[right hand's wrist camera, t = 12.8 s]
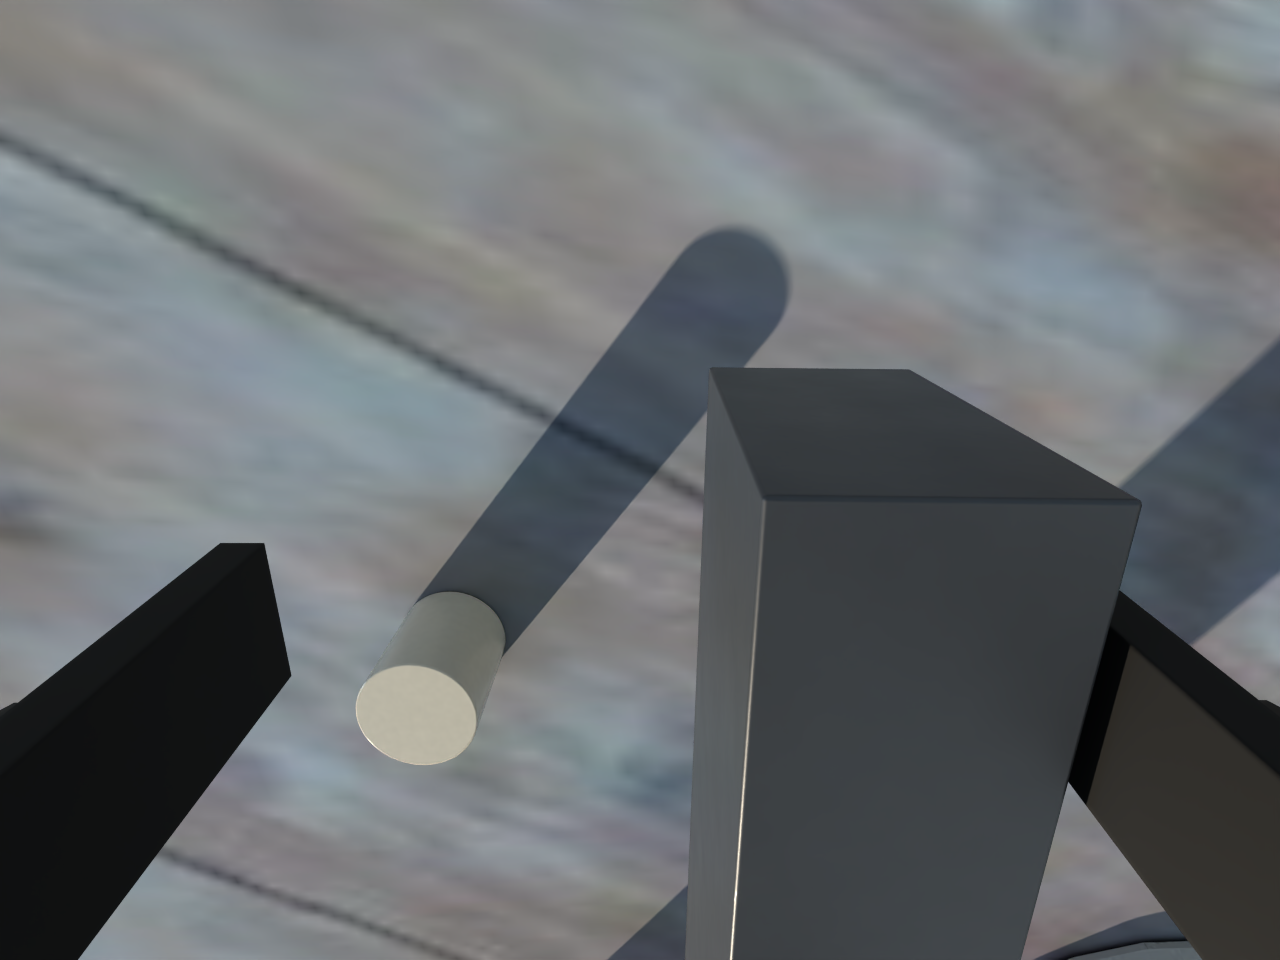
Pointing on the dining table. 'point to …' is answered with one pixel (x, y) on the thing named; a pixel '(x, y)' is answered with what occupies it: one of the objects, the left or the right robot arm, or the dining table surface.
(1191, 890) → the right robot arm
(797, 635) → the bar
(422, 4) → the dining table surface
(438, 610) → the off-white cylinder
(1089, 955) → the wall clock
